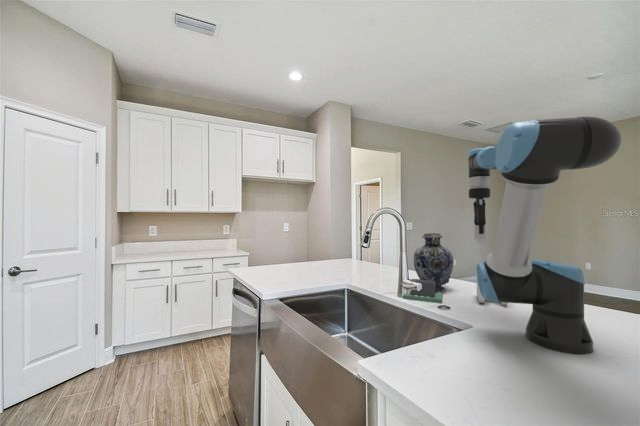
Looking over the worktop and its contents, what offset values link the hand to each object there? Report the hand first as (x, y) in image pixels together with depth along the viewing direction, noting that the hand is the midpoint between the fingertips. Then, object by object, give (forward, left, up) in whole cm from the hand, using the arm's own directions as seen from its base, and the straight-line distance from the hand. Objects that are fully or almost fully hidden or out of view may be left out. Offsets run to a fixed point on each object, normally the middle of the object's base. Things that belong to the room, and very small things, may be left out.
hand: (479, 241), depth 114 cm
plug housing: (+6, +22, -25) cm, 34 cm away
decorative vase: (+25, +19, -27) cm, 41 cm away
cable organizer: (+13, -5, -27) cm, 30 cm away
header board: (+6, +22, -27) cm, 35 cm away
